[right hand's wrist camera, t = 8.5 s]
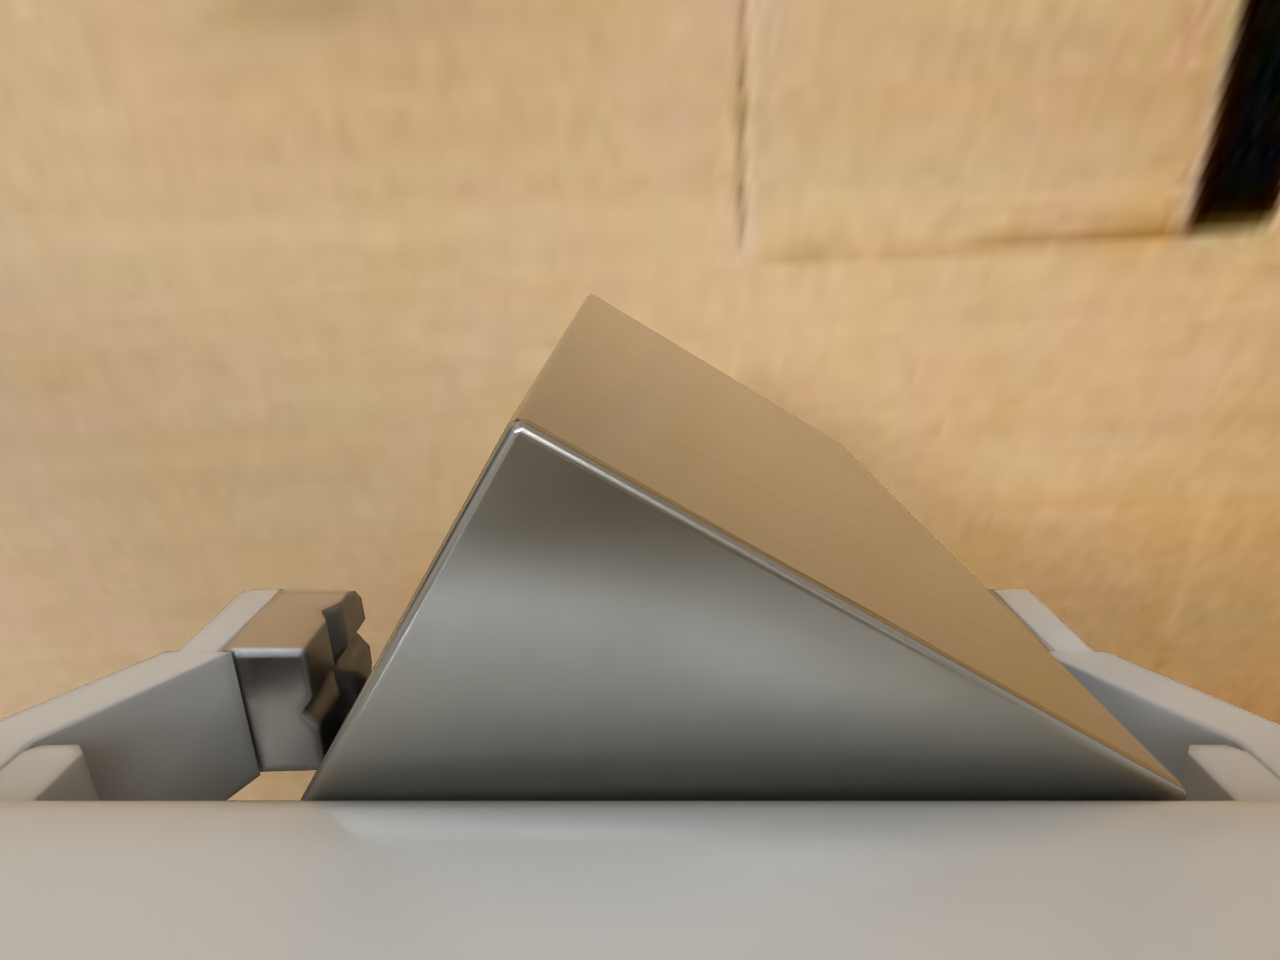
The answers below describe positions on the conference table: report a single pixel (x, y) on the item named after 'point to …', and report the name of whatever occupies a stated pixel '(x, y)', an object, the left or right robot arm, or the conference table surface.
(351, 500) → the conference table surface
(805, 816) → the right robot arm
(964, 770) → the bar
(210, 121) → the conference table surface
